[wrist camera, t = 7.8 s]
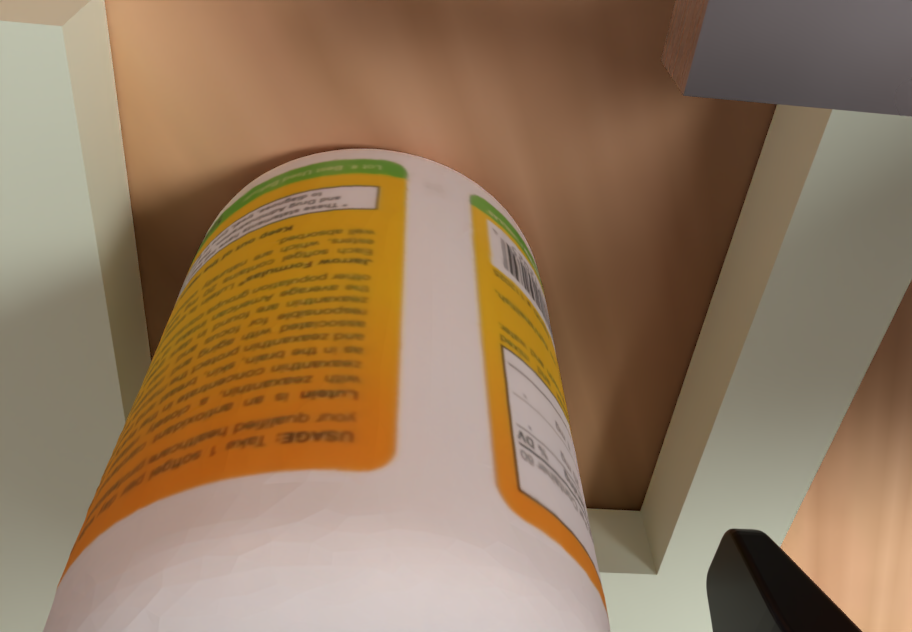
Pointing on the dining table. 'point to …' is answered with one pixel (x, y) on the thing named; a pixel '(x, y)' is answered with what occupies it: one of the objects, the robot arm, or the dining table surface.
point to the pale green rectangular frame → (613, 531)
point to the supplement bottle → (346, 426)
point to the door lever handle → (794, 52)
